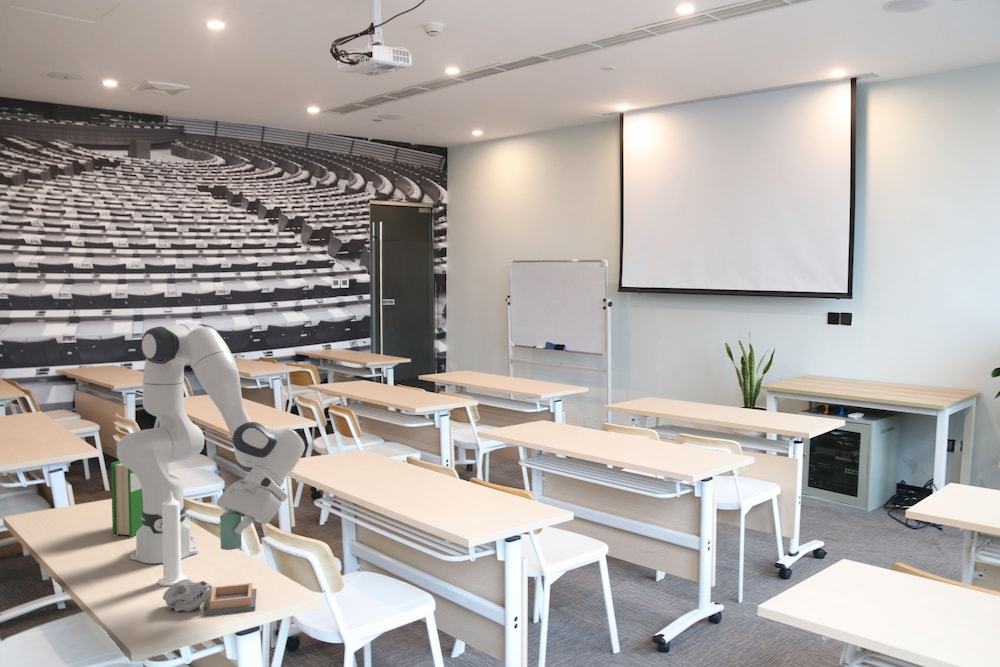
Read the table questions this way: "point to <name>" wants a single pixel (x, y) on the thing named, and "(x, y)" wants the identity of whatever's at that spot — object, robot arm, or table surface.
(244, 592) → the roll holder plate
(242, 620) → the table surface
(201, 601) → the skull
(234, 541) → the green cylinder
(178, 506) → the candle
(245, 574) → the table surface
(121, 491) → the hardback book
